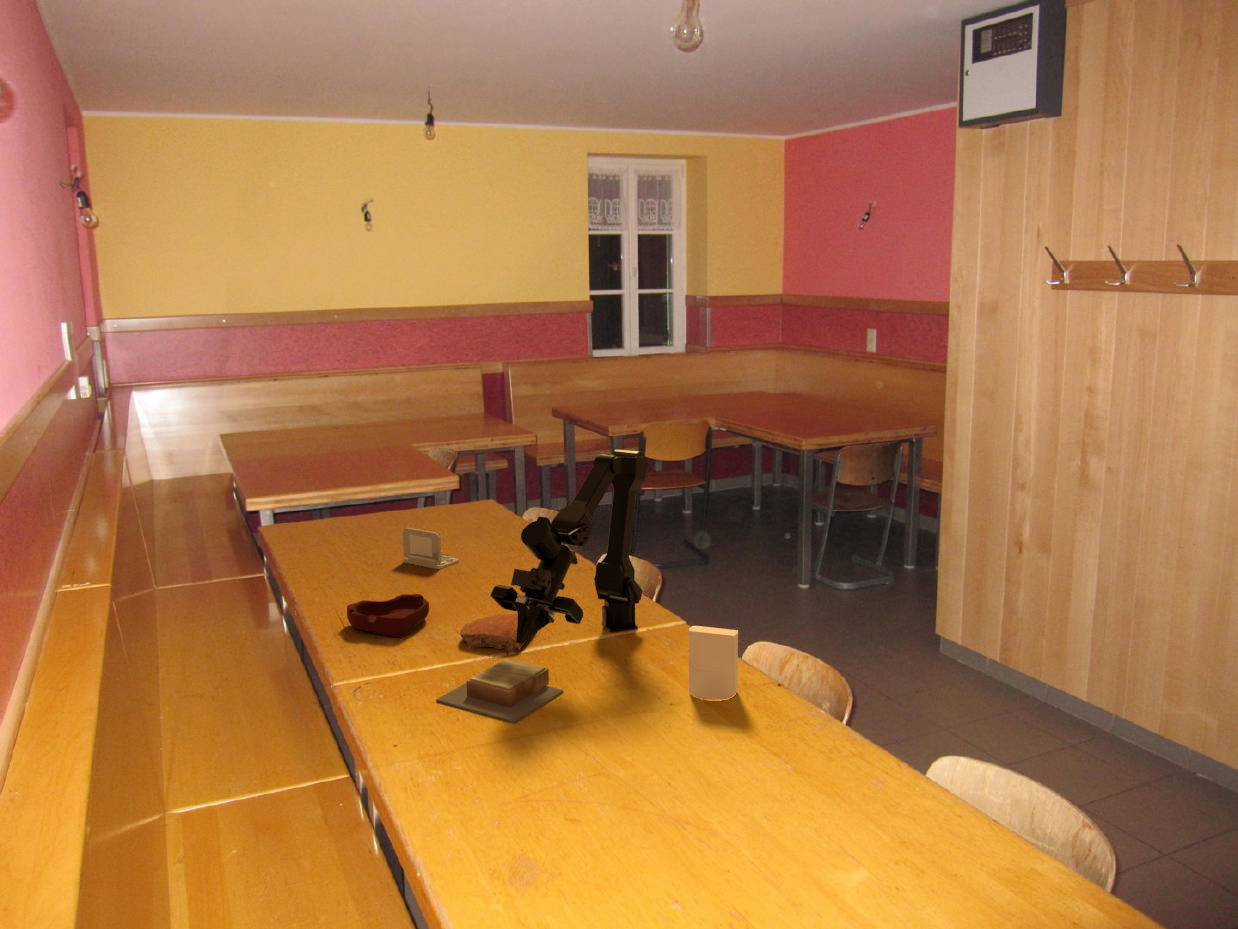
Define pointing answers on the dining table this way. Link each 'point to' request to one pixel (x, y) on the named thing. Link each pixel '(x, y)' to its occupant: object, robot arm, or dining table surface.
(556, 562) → the robot arm
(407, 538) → the handheld gaming console
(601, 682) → the dining table surface
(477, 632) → the ceramic shard
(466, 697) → the charcoal rubber mat
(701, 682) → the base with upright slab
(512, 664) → the brown wooden block
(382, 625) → the ashtray
